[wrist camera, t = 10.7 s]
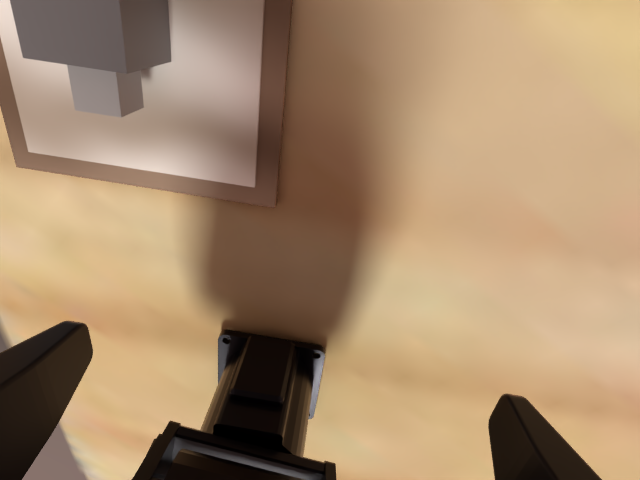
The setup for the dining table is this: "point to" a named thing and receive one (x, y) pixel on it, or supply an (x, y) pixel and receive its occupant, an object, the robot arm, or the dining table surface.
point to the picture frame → (166, 107)
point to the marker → (97, 46)
